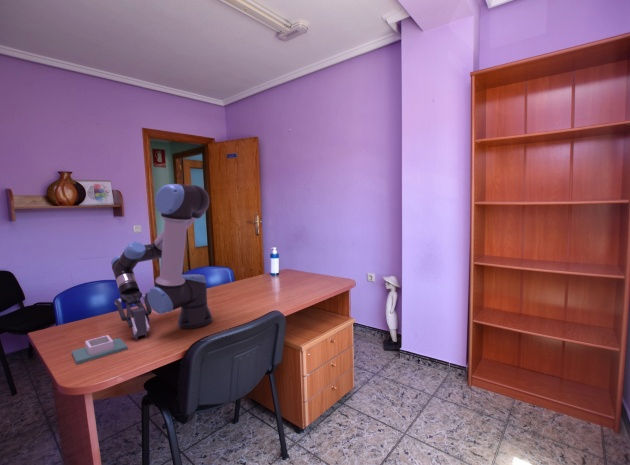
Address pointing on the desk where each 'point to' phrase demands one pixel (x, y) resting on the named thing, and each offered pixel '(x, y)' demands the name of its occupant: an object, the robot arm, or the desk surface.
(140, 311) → the block
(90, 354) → the board
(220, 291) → the desk surface
